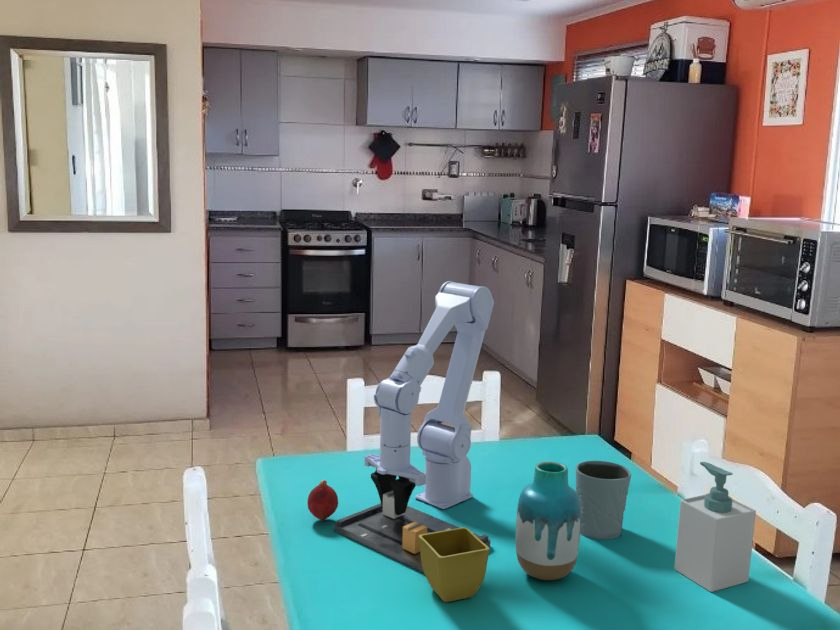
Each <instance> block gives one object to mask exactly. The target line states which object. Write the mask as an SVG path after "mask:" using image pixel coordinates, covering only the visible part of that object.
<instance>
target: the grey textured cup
mask: <svg viewBox="0 0 840 630" xmlns="http://www.w3.org/2000/svg"><path fill="white" fill-rule="evenodd" d="M631 478H632V472H631V470H630V469H629V468H627V467H626V466H624V465H622V464H619V463H615V462H613V461H606V460H586V461H582V462H579V463H578V464H576V465H575V491H576V492H577V494H578V496H579V499H580V507H581V526H580V535H582V536H583V537H586V538H589V539H594V540H600V541H601V540H603V541H604V540H612V539H617V538H618V537H620V536H621V533H622V531H623V529H622V528H623V522H624V512H625V511H626V505H627V497H628V493H629V487H630V484H631Z"/></svg>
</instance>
